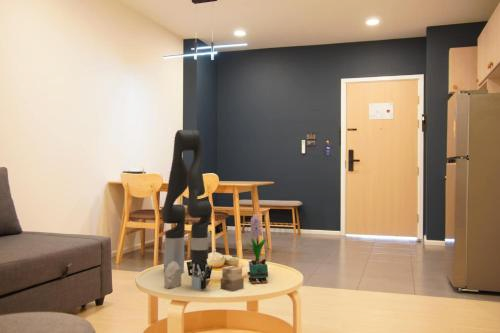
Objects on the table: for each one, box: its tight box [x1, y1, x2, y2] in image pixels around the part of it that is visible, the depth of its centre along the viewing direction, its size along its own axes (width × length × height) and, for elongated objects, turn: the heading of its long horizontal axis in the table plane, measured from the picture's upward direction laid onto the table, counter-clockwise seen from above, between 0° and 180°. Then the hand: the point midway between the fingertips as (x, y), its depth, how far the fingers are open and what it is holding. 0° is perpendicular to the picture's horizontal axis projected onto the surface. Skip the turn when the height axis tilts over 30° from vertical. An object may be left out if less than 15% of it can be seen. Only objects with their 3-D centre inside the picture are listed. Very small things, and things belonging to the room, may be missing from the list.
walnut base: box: [220, 277, 245, 292], centre depth 189 cm, size 7×7×4 cm
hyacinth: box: [246, 213, 267, 280], centre depth 208 cm, size 9×10×30 cm
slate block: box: [191, 273, 208, 292], centre depth 188 cm, size 4×4×6 cm
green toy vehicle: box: [247, 258, 269, 285], centre depth 200 cm, size 9×10×10 cm
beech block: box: [221, 265, 243, 281], centre depth 189 cm, size 6×6×4 cm
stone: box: [163, 261, 182, 290], centre depth 191 cm, size 9×5×10 cm, turn 151°
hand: (199, 287), depth 188 cm, fingers closed on slate block, 4 cm apart
